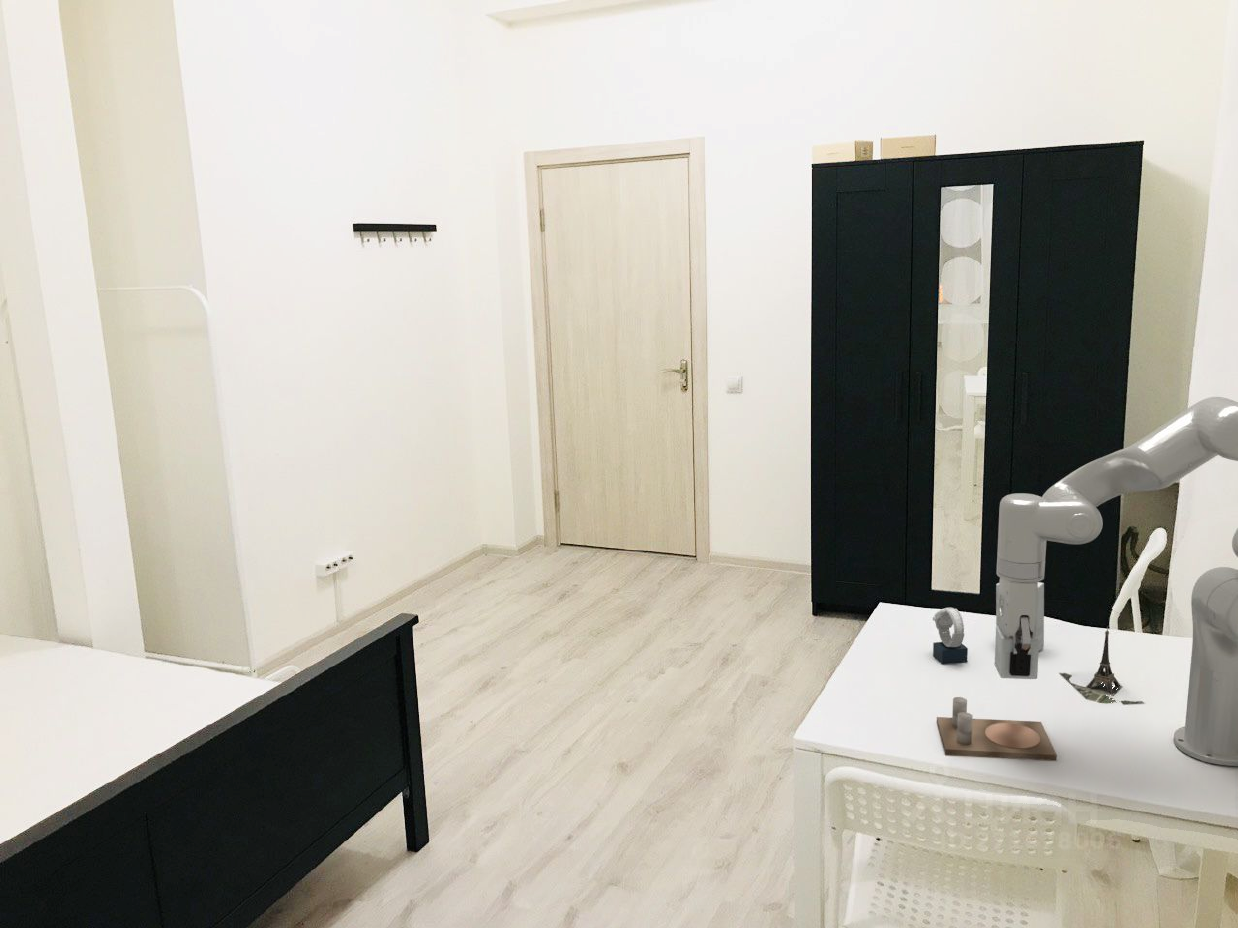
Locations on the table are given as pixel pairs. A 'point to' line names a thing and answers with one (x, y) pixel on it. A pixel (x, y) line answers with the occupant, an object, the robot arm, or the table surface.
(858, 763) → the table surface
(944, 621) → the watch
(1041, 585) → the skincare box
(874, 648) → the table surface
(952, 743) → the board
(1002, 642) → the skincare box
